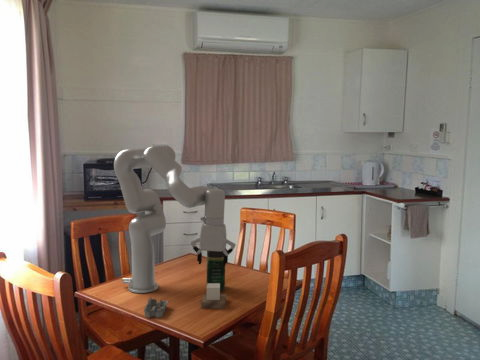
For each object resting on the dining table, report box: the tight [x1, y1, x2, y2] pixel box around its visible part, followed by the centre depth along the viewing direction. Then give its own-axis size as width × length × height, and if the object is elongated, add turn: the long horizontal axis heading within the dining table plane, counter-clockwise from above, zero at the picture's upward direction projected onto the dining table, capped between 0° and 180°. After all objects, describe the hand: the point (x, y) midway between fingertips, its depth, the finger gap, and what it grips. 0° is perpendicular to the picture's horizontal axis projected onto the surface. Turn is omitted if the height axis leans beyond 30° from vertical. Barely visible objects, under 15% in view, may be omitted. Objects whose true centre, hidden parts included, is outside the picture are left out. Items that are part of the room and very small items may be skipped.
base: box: [200, 293, 227, 310], centre depth 175 cm, size 9×9×3 cm
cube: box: [206, 282, 221, 300], centre depth 174 cm, size 5×5×5 cm
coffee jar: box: [206, 251, 226, 292], centre depth 191 cm, size 10×8×19 cm
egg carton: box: [143, 297, 169, 319], centre depth 167 cm, size 11×8×4 cm
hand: (212, 264), depth 173 cm, fingers open, 9 cm apart
